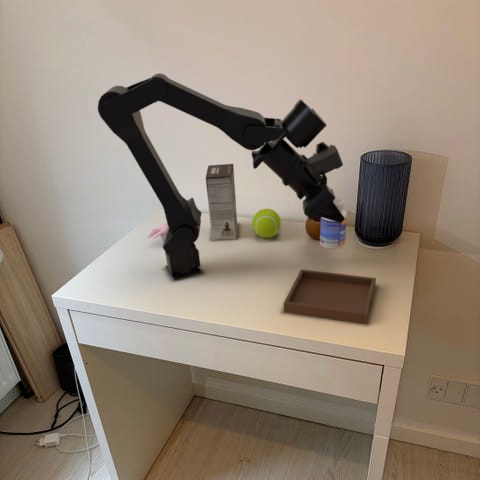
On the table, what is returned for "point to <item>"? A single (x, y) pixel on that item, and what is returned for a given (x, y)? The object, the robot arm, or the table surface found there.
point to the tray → (331, 296)
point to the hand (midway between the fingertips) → (340, 215)
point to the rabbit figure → (159, 231)
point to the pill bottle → (334, 229)
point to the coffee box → (222, 201)
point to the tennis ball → (266, 223)
